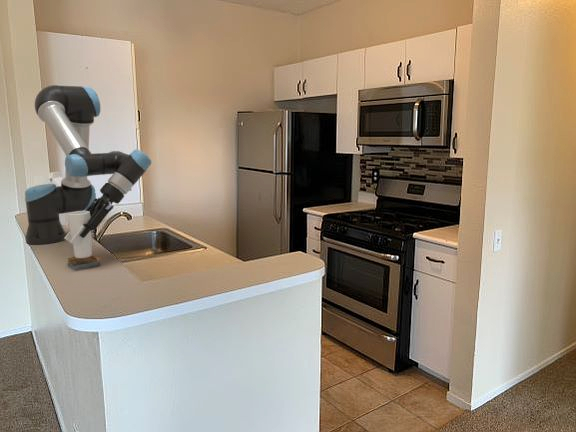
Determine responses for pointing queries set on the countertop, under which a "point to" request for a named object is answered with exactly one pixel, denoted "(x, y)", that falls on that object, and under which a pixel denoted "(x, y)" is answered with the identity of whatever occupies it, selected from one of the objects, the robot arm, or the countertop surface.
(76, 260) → the square coaster
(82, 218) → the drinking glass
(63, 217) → the milk
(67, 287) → the countertop surface
